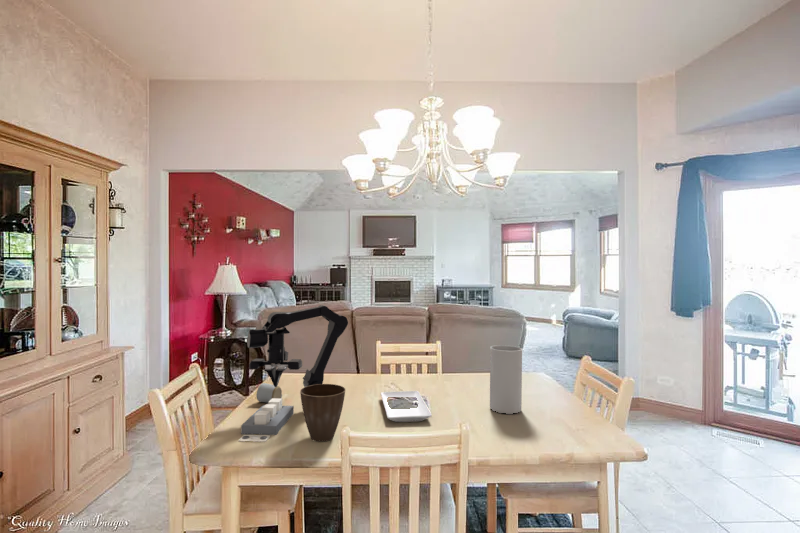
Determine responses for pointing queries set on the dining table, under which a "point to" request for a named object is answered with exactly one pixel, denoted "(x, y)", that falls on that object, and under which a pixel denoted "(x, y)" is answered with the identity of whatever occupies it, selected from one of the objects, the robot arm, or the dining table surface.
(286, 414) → the button board
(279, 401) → the button
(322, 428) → the plant pot
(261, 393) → the ceramic mug
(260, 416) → the button
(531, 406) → the dining table surface
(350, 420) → the dining table surface
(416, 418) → the tray
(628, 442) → the dining table surface
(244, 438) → the pattern card
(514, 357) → the cylinder vase
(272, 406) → the button middle
